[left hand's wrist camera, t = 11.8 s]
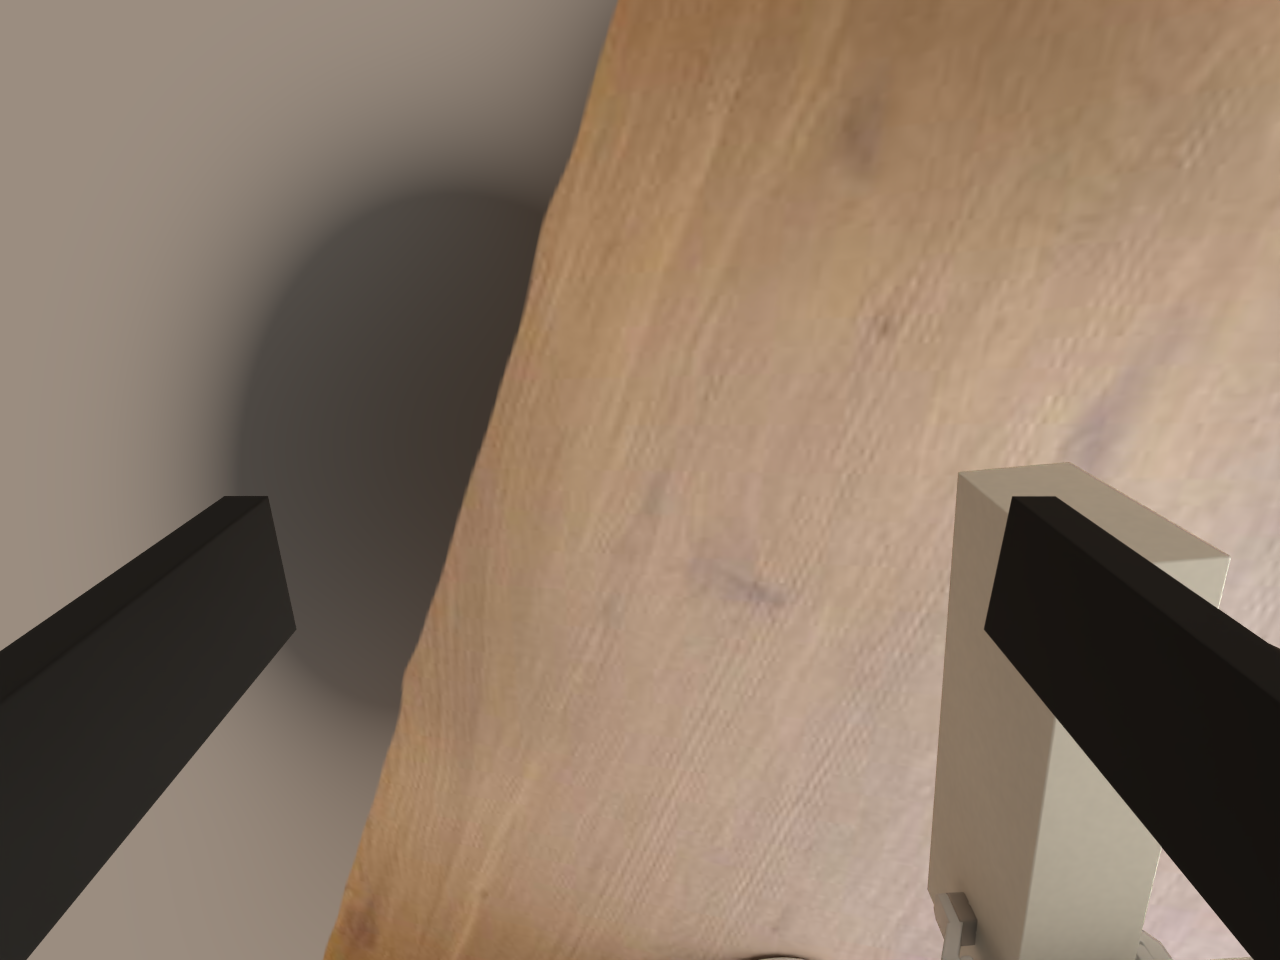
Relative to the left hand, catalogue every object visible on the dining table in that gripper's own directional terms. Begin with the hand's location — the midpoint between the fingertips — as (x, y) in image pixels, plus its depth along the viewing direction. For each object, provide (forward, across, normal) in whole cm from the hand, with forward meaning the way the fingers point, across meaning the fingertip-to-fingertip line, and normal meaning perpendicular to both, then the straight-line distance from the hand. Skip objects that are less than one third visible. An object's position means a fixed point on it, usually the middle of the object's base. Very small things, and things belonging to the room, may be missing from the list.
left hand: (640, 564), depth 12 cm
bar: (+18, +18, -18) cm, 31 cm away
